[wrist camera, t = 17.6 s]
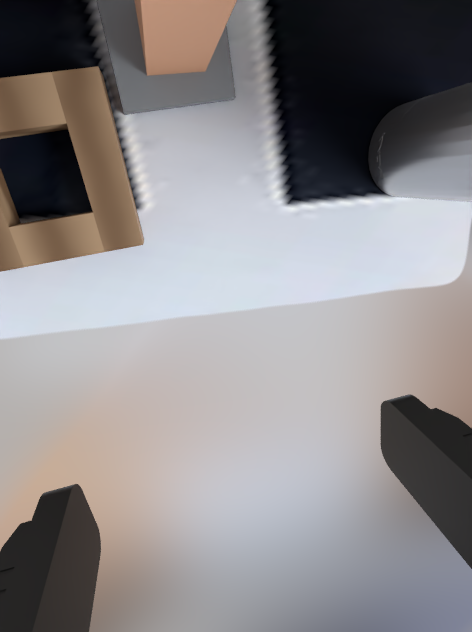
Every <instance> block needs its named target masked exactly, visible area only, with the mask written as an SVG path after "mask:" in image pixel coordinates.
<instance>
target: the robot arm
mask: <svg viewBox="0 0 472 632" xmlns="http://www.w3.org/2000/svg"><path fill="white" fill-rule="evenodd" d="M368 162H369V170H370V173H371V176H372V178H373V180H374V182H375V184H376V185H377V186H378V187H379V188H380V189H381V190H382V191H383V192H385V193H386V194H388V195H391V196H394V197H405V198H419V199H432V200H448V201H464V202H472V83H469V84H465V85H462V86H459V87H456V88H453V89H450V90H446V91H443V92H440V93H437V94H434V95H430V96H427V97H424V98H421V99H417V100H414V101H411V102H408V103H405V104H402V105H400V106H397V107H396V108H394V109H393V110H391V111H390V112H389V113H388V114H387V115H386V116H385V117H384V118H383V119H382V120H381V121H380V123H379V124H378V126H377V127H376V129H375V131H374V134H373V136H372V138H371V142H370V146H369V153H368ZM381 449H382V454H383V456H384V459H385V461H386V463H387V465H388V466H389V468H390V469H391V471H392V472H393V473H394V474H395V476H396V477H397V478H398V479H399V480H400V482H401V483H402V484H403V485H404V487H405V488H406V489H407V490H408V491H409V493H410V494H411V495H412V496H413V498H414V499H415V500H416V501H417V502H418V504H419V505H420V506H421V507H422V509H423V510H424V511H425V512H426V513H427V515H428V516H429V517H430V518H431V520H432V521H433V522H434V523H435V525H436V526H437V527H438V528H439V529H440V531H441V532H442V533H443V534H444V535H445V537H446V538H447V539H448V540H449V542H450V543H451V544H452V545H453V547H454V548H455V549H456V550H457V551H458V553H459V554H460V555H461V556H462V558H463V559H464V560H465V561H466V563H467V564H468V565H469V566H470V567H471V569H472V428H470V427H469V426H468V425H467V424H465V423H464V422H463V421H461V420H460V419H459V418H457V417H455V416H453V415H451V414H448V413H446V412H444V411H442V410H439V409H437V408H434V409H430V408H428V407H427V406H426V405H425V404H424V403H422V402H421V401H420V400H419V399H417V398H416V397H415V396H413V395H405V396H402V397H398V398H394V399H391V400H387V401H384V402H383V403H382V404H381ZM100 542H101V541H100V533H99V529H98V526H97V523H96V521H95V519H94V517H93V514H92V512H91V510H90V507H89V505H88V503H87V500H86V498H85V496H84V493H83V491H82V489H81V487H80V486H79V485H78V484H75V485H71V486H67V487H64V488H60V489H57V490H53V491H49V492H46V493H43V494H42V496H41V497H40V499H39V502H38V505H37V507H36V510H35V513H34V515H33V518H32V521H28V522H25V523H21V524H20V525H19V526H18V528H17V529H16V530H15V531H14V533H13V534H12V535H11V537H10V538H9V539H8V541H7V542H6V543H5V544H4V546H3V547H2V549H1V551H0V632H89V627H90V621H91V614H92V607H93V600H94V594H95V587H96V581H97V573H98V567H99V560H100V552H101V543H100Z"/></svg>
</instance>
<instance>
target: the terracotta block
mask: <svg viewBox="0 0 472 632" xmlns="http://www.w3.org/2000/svg"><path fill="white" fill-rule="evenodd" d="M134 1H135V7H136V13H137V19H138V25H139V31H140V37H141V42H142V48H143V54H144V60H145V66H146V72H147V76H149V75H163V74H177V73H191V72H205V71H206V69H207V67H208V64H209V62H210V60H211V58H212V55H213V53H214V51H215V49H216V46H217V44H218V42H219V40H220V37H221V35H222V33H223V31H224V28H225V26H226V24H227V21H228V19H229V17H230V15H231V12H232V10H233V8H234V6H235V3H236V1H237V0H134Z"/></svg>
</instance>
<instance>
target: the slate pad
mask: <svg viewBox="0 0 472 632" xmlns="http://www.w3.org/2000/svg"><path fill="white" fill-rule="evenodd" d="M97 3H98V7H99V12H100V16H101V20H102V24H103V28H104V33H105V37H106V41H107V45H108V49H109V53H110V58H111V62H112V66H113V70H114V74H115V79H116V83H117V87H118V91H119V95H120V99H121V104H122V108H123V112H124V114H125V115H127V114H134V113H141V112H148V111H156V110H163V109H170V108H177V107H185V106H192V105H199V104H206V103H213V102H221V101H228V100H234V99H235V98H236V96H235V88H234V81H233V73H232V66H231V58H230V51H229V43H228V36H227V28H226V26H225V28H224V31H223V33H222V35H221V37H220V40H219V42H218V44H217V46H216V49H215V51H214V53H213V55H212V58H211V60H210V62H209V64H208V67H207V69H206V71H205V72H191V73H177V74H163V75H149V76H147V72H146V66H145V60H144V54H143V48H142V42H141V37H140V31H139V25H138V19H137V13H136V7H135V1H134V0H97Z"/></svg>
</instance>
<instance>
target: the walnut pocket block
mask: <svg viewBox="0 0 472 632" xmlns="http://www.w3.org/2000/svg"><path fill="white" fill-rule="evenodd" d="M66 129H68V130H69V133H70V137H71V140H72V143H73V147H74V150H75V153H76V157H77V160H78V164H79V167H80V170H81V174H82V177H83V181H84V184H85V187H86V191H87V194H88V197H89V201H90V204H91V208H92V211H91V212H85V213H79V214H73V215H67V216H62V217H56V218H50V219H44V220H38V221H33V222H27V223H21V222H20V220H19V217H18V214H17V212H16V209H15V206H14V204H13V201H12V198H11V196H10V193H9V190H8V187H7V185H6V182H5V179H4V177H3V174H2V171H1V169H0V272H1V271H6V270H11V269H17V268H22V267H27V266H33V265H38V264H43V263H49V262H54V261H59V260H65V259H70V258H75V257H80V256H86V255H91V254H96V253H102V252H107V251H112V250H118V249H123V248H128V247H133V246H139V245H143V243H144V237H143V233H142V229H141V225H140V221H139V217H138V213H137V209H136V205H135V201H134V197H133V193H132V189H131V185H130V181H129V177H128V173H127V169H126V165H125V161H124V157H123V153H122V149H121V145H120V141H119V137H118V133H117V129H116V125H115V121H114V117H113V113H112V109H111V105H110V101H109V97H108V93H107V89H106V85H105V81H104V77H103V75H102V73H101V71H100V69H99V67H89V68H81V69H72V70H64V71H56V72H47V73H39V74H30V75H22V76H14V77H5V78H0V139H3V138H10V137H17V136H24V135H31V134H38V133H45V132H52V131H59V130H66Z"/></svg>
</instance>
